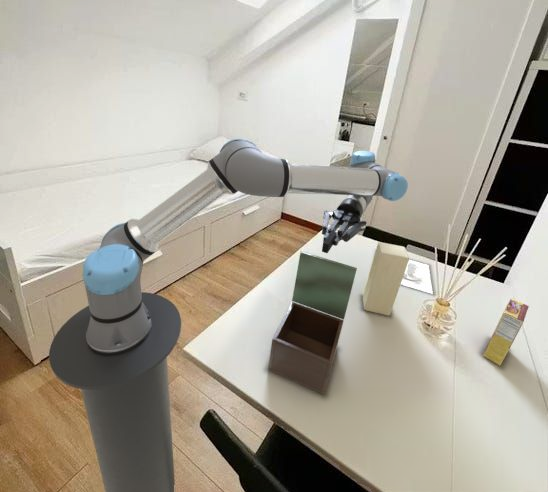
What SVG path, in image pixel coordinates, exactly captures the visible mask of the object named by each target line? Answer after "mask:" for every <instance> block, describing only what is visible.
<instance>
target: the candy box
mask: <svg viewBox="0 0 548 492" xmlns="http://www.w3.org/2000/svg"><path fill="white" fill-rule="evenodd" d="M529 307H530V306H529V305H527V304H525V303H523V302H521V301H519V300H516V299H514V298H510V299H509V301H508V303H507V304H506V306H505V309H504V311H503V313H502V315H501V317H500V319H499V321H498V323H497V325H496V327H495V329H494V331H493V333H492V335H491V337H490V340H489V342H488V344H487V346H486V348H485V351H484V353H483V355H482V356H483V357H484V358H486V359H487V360H489V361H490V362H492V363H494V364H496V365H497V366H501V365H502V363H503V362H504V360H505V358H506V356H507V354H508V352H509V351H510V348H511V347H512V345H513V343H514V341H515V339H516V337H517V336H518V334H519V332H520V330H521V328H522V326H523V324H524V322H525V319H526V317H527V316H526V315H527V313H528V310H529Z"/></svg>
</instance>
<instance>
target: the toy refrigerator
mask: <svg viewBox="0 0 548 492" xmlns="http://www.w3.org/2000/svg"><path fill="white" fill-rule="evenodd" d="M409 260H410V256H409V253H408V252H407V249H406V247H405V246H403V245H397V244H392V243H387V242H382V241H378V242H377V245H376V249H375V252H374V255H373V259H372V262H371V266H370V270H369V273H368V277H367V279H366V282H365V283H366V284H365V287H364V290H363V293H362V304H363V310H364V311H367V312H371V313H376V314H380V315H384V316H391V313H392V311H393V307H394V305H395V301H396V299H397V296H398V293H399V290H400V287H401V281H402V279H403V276H404V273H405V270H406V267H407V264H408V261H409Z"/></svg>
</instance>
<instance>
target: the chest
mask: <svg viewBox="0 0 548 492" xmlns="http://www.w3.org/2000/svg"><path fill="white" fill-rule="evenodd" d="M344 320H345V319H344ZM344 320H343V319H340V318H338V317H335V316H332V315H329V314H327V313H324V312H321V311H318V310H316V309H313V308H310V307H307V306H305V305H302V304H299V303H296V302H294V301H291V303H290V305H289V307H288V309H287V311H286V313H285V314H284V316H283V318H282V320H281V322H280V324H279V325H278V328H277V329H276V331H275V333H274V335H273V337H272V339H271V345H270V351H269V361H268V368H267V370H268V371H270V372H273V373H275V374H277V375H279V376H281V377H283V378H286V379H288V380H291V381H293V382H294V383H297V384H299V385H300V386H303V387H305V388H307V389H310V390H313V391H315V392H317V393H319V394H321V395H322V396H324V395H326V390H327V386H328V382H329V379H330V375H331V371H332V368H333V364H334V359H335V356H336V352H337V348H338V344H339V340H340V337H341V333H342V329H343V325H344V324H343V323H344Z"/></svg>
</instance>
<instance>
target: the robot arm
mask: <svg viewBox="0 0 548 492" xmlns="http://www.w3.org/2000/svg"><path fill="white" fill-rule="evenodd" d="M408 187H409V183H408V180H407V179H406V177H404V176H403V175H401V174H400V173H398V172H395V171H393V170H391V169H389V168H387V167H385V166H382V165H381V164H378V163H376V154H375V153H374V152H372V151H369V150H358V151H354V152H352V154H351V155H350V163H349V167H348V166H334V165H318V164H305V163H304V164H303V163H291V162H290V163H289V161H288V160H287V159H286V158H276V157H273V156H270V155H267V154H265V153H263V152H262V150H261V149H260V148H259V147H258V146H257V145H256V144H255V143H254V142H252V141H250V140H247V139H245V138H233V139H231V140H228V141H227V142H226V143H224V144H223V146H222V147H221V149H220V150H219V153H217V154H216V155H215V156H213V157H212V158H211V159H210V160H208V161H207V166H206V169H205V170H204V171H202V172H201V173H200V174H198V175H197V176H196V177H194V178H193V179H192V180H191V181H189V182H188V183H186V184H185V185H184V186H182V187H181V188H180V189H178V190H177V191H175V192H174V193H173V194H171V195H170V196H169V197H167V198H166V199H165V200H164V201H162V202H161V203H160V204H158V205H157V206H155V207H154V208H153V209H151V210H150V211H148V213H146V214H145V215H144V216H142V217H140V218H130V219H129V220H127V221H126V222H121V223H118V224H116V225H114V226H112V227H111V228H110V229H109V230H108V231H107V232H106V233H105V234H104V236H103V238H102V240H101V242H100V246H99V247H98V248H97V250H96V251H94V250H93V251H92V252H91V253H90V254H88V256H86V258H85V260H84V261H83V264H82V273H81V274H82V282H83V284H84V288H85V294H86V298H87V302H88V306H89V308H90V313H91V317H90V322H89V326H88V328H87V332H86V340H87V344H88V347H89V348H90V350H91V351H93V352H94V353H96V354H99V355H104V356H112V355H119V354H122V353H125V352H128V351H130V350H132V349H134V348H136V347H137V346H138V345H140V344H141V343H142V342H143V341H144V340H145V339H146V338H147V337H148V335H149V333H150V331H151V328H152V321H151V317H152V316H151V314H150V313H149V312H148V310H147V309H146V307H145V305H144V304H143V302H142V294H141V292H142V287H141V285H142V284H141V278H142V271H143V266H144V262H145V261H146V260H147V259H149V258H150V257H151V256H153V255H154V254H155V253H157V252H158V251H159V249H160V243H161V242H162V241H164V240H165V239H167V238H168V237H169V236H171V235H172V234H173V233H175V232H176V231H178V230H179V229H180V228H181V227H183V226H184V225H186V224H187V223H189V222H190V221H191V220H192V219H193V218H195V217H196V216H198V215H199V214H200V213H202V212H203V211H204V210H206V209H207V208H208V207H210V206H211V205H213V204H214V203H216V201H218V200H219V199H221V198H222V197H223V196H224V195H232V196H233V195H235V194H236V193H237V192H240V193H242V194H245V195H249V196H254V197H255V196H256V197H267V198H285V197H286V196H287V195H288V194H297V195H298V194H299V195H300V194H304V195H335V196H336V195H337V196H338V195H340V196H341V195H342V196H345V197H344V198H343V199H342V200H341V202H340V204H339V205H338V206H337V207H336V209H335V210H333V211H332V212H329V211H328V210H327V209H326V210H325V209H324V210H323V216H322V217H323V218H322V219H323V224H322V228H321V229H322V230H321V235H323V239H322V248H321V253H325V254H328V253H329V252H330V250H331V249H332V247H333V246H335V247H336V246H338V245H339V243H340V241H343V242H344V243H347V242H349V241H350V240H351V239H353V238H354V237H355V236H356V235H358V234H359V233H361V232H363V231H366V227H367V221H365V220H362V221H361V218H362V217H363V215H364V213H365V211H367V210H366V209H367V207H368V206H369V205H370V203H372V200H373V197H382V198H383V199H384V200H387V201H389V202H396V201H398V200H401V199H402V198H403V197H404V196H405V195H406V194H407V190H408ZM331 219H333V222H332V223H331V225H330V226H329V222H330V220H331Z"/></svg>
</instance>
